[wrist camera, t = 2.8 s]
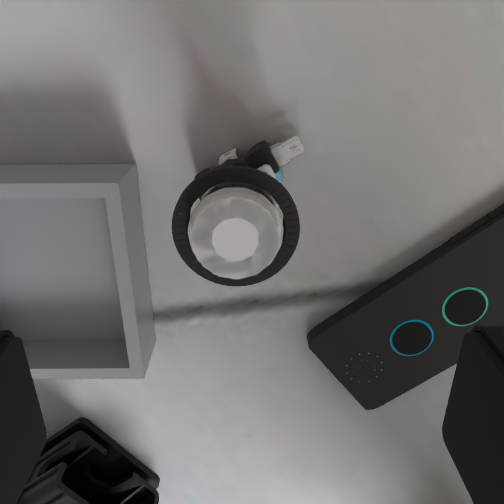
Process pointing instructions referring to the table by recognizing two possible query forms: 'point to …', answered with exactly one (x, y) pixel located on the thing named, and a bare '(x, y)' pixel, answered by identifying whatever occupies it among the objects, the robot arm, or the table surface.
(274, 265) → the push button
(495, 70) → the table surface
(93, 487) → the end cap
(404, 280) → the smart home device
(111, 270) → the rectangular tray
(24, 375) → the robot arm
